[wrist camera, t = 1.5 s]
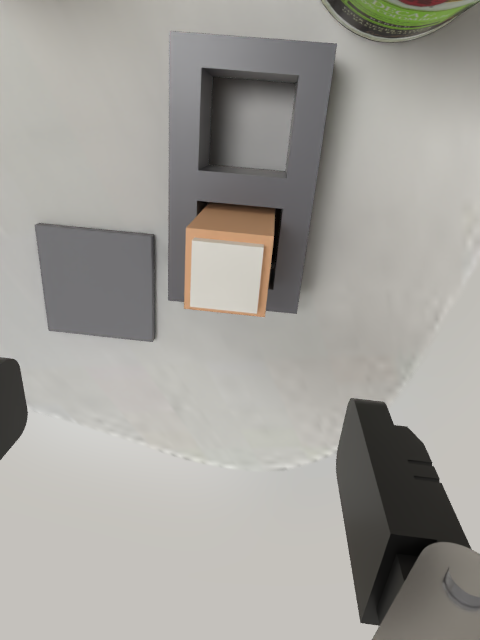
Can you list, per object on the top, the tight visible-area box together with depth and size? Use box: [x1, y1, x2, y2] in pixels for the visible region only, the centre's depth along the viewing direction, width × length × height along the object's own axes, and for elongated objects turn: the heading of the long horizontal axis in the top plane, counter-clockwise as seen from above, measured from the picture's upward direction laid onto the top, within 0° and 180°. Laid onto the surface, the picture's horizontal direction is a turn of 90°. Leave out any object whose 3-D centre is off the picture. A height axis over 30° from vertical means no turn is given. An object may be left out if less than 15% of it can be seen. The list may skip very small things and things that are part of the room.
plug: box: [184, 202, 275, 317], centre depth 23 cm, size 4×4×10 cm
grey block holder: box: [168, 31, 337, 314], centre depth 24 cm, size 8×14×4 cm, turn 175°
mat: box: [35, 223, 155, 342], centre depth 30 cm, size 8×8×1 cm
